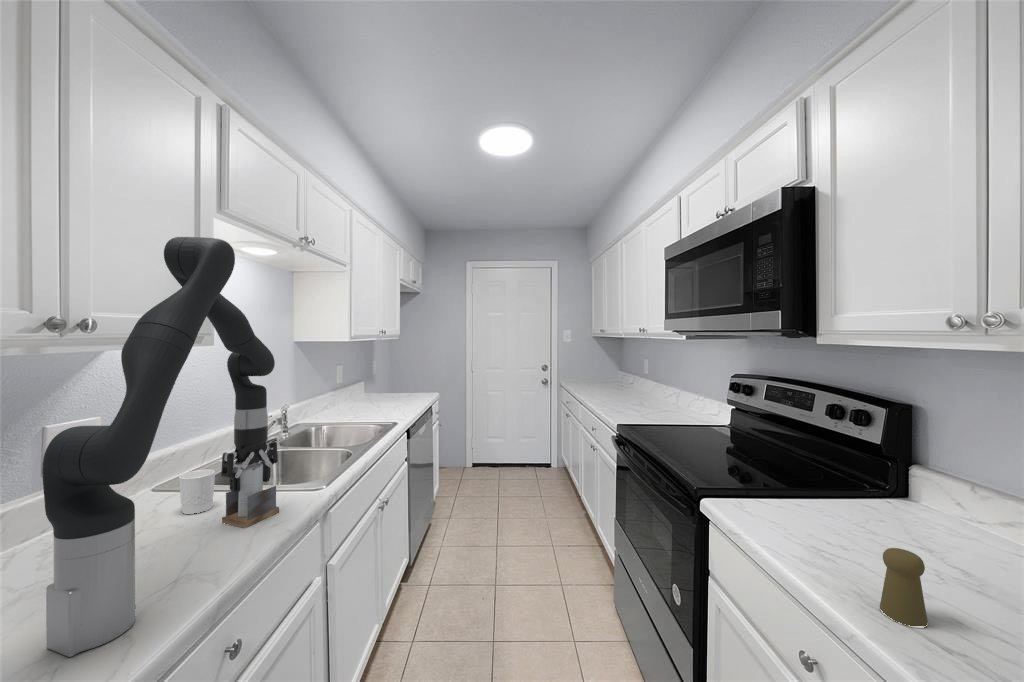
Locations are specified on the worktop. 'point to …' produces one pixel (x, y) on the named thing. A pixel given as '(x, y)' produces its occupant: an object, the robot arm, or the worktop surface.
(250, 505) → the brown gray open holder
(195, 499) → the white cup
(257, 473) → the skincare box
